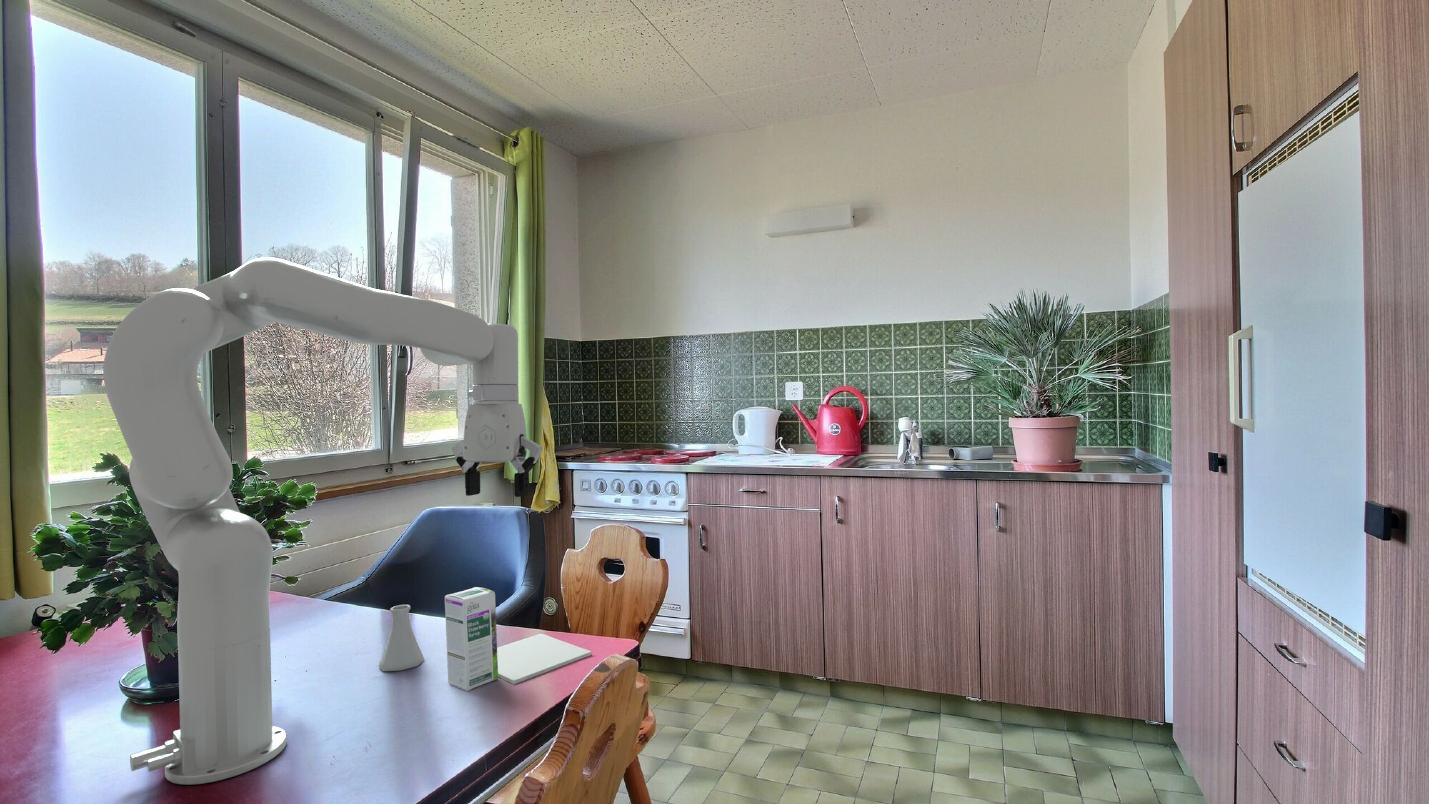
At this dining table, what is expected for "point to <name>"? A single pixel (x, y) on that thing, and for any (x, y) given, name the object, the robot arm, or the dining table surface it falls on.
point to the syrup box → (471, 638)
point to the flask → (401, 643)
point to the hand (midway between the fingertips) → (497, 495)
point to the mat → (535, 657)
